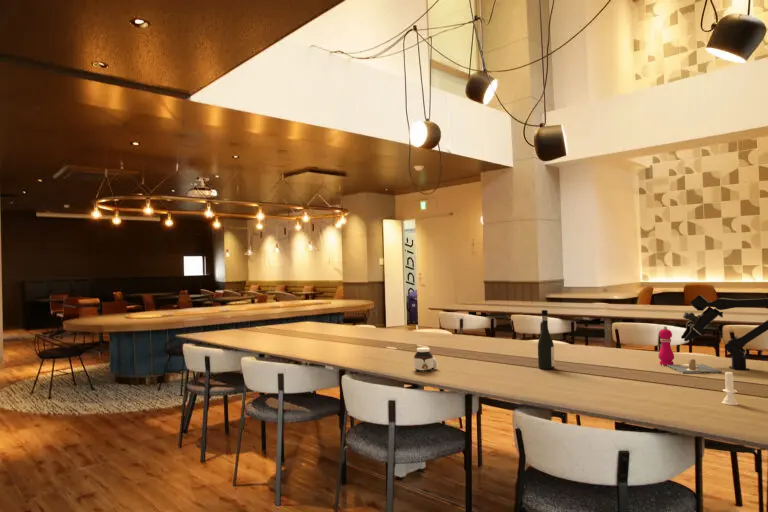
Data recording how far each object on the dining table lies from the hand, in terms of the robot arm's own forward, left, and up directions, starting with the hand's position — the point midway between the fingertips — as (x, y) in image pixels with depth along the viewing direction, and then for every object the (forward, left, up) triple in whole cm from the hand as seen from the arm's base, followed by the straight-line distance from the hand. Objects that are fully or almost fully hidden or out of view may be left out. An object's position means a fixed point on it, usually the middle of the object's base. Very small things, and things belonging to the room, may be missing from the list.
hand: (683, 339), depth 272 cm
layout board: (-11, +1, -13) cm, 17 cm away
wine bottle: (-3, +70, -14) cm, 71 cm away
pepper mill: (+2, +8, -14) cm, 16 cm away
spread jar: (-4, +132, -14) cm, 133 cm away
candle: (-74, +18, -14) cm, 77 cm away
